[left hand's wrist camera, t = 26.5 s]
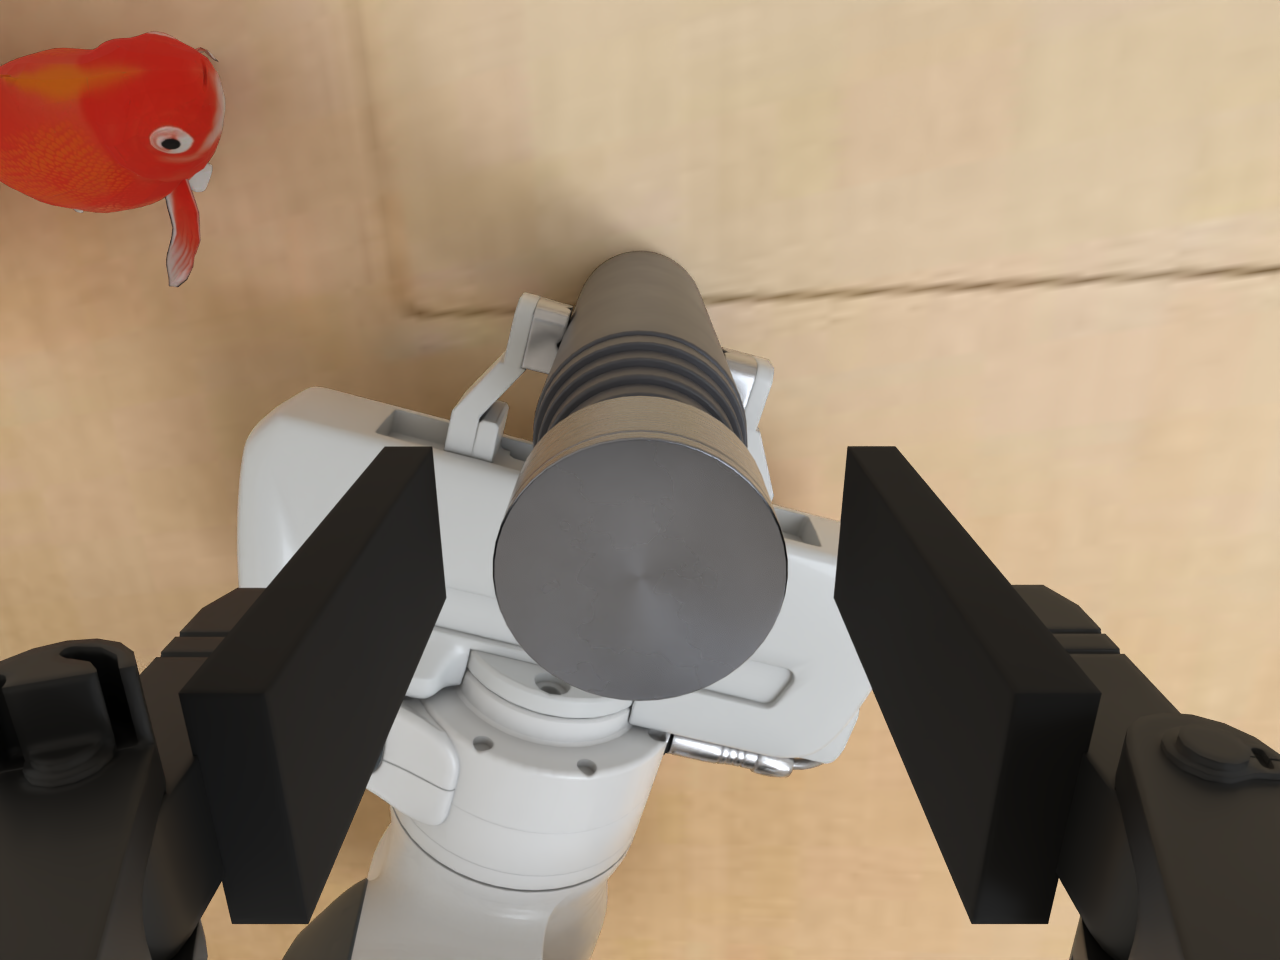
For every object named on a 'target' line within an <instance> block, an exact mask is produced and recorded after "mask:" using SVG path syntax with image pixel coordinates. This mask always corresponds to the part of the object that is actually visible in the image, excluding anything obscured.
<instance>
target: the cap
mask: <svg viewBox="0 0 1280 960" xmlns="http://www.w3.org/2000/svg"><path fill="white" fill-rule="evenodd" d="M787 581H788V557H787V550H786V544H785V540H784V537H783V533H782V530H781V527H780V524H779V521H778V519H777V516H776V513H775V510H774V507H773V505H772V502H771V499H770V496H769V494H768V491H767V488H766V485H765V483H764V480H763V477H762V474H761V472H760V470H759V468H758V466H757V464H756V462H755V460H754V458H753V457H752V455H751V453H750V452H749V450H748V449H747V447H746V446H745V445H744V444H743V443H742V441H741V440H740V439H739V438H738V437H737V436H736V435H735V434H734V433H733V432H732V431H731V430H730V429H729V428H728V427H726V426H725V425H724V424H723V423H722V422H720V421H719V420H717V419H716V418H714V417H713V416H711V415H710V414H708V413H706V412H704V411H702V410H700V409H698V408H696V407H694V406H691V405H688V404H685V403H682V402H679V401H676V400H671V399H666V398H661V397H651V396H630V397H620V398H615V399H609V400H605V401H602V402H599V403H595V404H592V405H589V406H587V407H585V408H583V409H581V410H579V411H577V412H574V413H573V414H571V415H570V416H568V417H566V418H565V419H563V420H562V421H560V422H559V423H558V424H556V425H555V426H554V427H553V428H552V429H551V430H549V431H548V432H547V433H546V434H545V435H544V436H543V437H542V439H541V440H540V441H539V442H538V443H537V444H536V445H535V447H534V448H533V450H532V451H531V453H530V454H529V456H528V457H527V459H526V461H525V463H524V465H523V467H522V469H521V471H520V473H519V476H518V479H517V481H516V484H515V487H514V490H513V493H512V495H511V498H510V501H509V504H508V506H507V509H506V512H505V515H504V518H503V520H502V523H501V526H500V529H499V532H498V535H497V538H496V542H495V548H494V554H493V583H494V590H495V595H496V599H497V602H498V606H499V609H500V612H501V614H502V616H503V618H504V621H505V623H506V625H507V627H508V628H509V630H510V632H511V633H512V635H513V636H514V638H515V640H516V641H517V642H518V644H519V645H520V646H521V647H522V648H523V650H524V651H525V652H526V653H527V654H528V655H529V656H530V657H531V658H532V659H533V660H534V661H535V662H536V663H537V664H538V665H539V666H541V667H542V668H543V669H545V670H546V671H547V672H549V673H550V674H552V675H553V676H554V677H556V678H558V679H560V680H562V681H563V682H565V683H567V684H569V685H571V686H573V687H575V688H578V689H580V690H583V691H585V692H588V693H592V694H595V695H599V696H602V697H607V698H613V699H618V700H629V701H651V700H662V699H668V698H674V697H678V696H682V695H686V694H689V693H693V692H695V691H698V690H700V689H703V688H705V687H708V686H710V685H712V684H714V683H715V682H717V681H719V680H721V679H723V678H725V677H726V676H728V675H729V674H730V673H732V672H733V671H735V670H736V669H737V668H739V667H740V666H741V665H742V664H743V663H744V662H745V661H747V660H748V659H749V658H750V657H751V656H752V655H753V654H754V653H755V651H756V650H757V649H758V648H759V647H760V645H761V644H762V643H763V642H764V640H765V639H766V637H767V636H768V634H769V633H770V631H771V629H772V628H773V626H774V624H775V622H776V620H777V617H778V615H779V613H780V611H781V608H782V604H783V601H784V598H785V594H786V587H787Z"/></svg>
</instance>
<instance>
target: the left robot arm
mask: <svg viewBox="0 0 1280 960" xmlns="http://www.w3.org/2000/svg"><path fill="white" fill-rule="evenodd" d="M445 600H446V587H445V576H444V566H443V555H442V544H441V533H440V523H439V512H438V501H437V490H436V480H435V469H434V458H433V448H432V446H385V447H384V448H383V449H382V450H381V451H380V453H379V454H378V455H377V456H376V457H375V459H374V460H373V461H372V462H371V463H370V465H369V466H368V467H367V468H366V469H365V470H364V472H363V473H362V474H361V475H360V476H359V478H358V479H357V480H356V481H355V482H354V484H353V485H352V486H351V487H350V488H349V490H348V491H347V492H346V493H345V494H344V496H343V497H342V498H341V499H340V500H339V502H338V503H337V504H336V505H335V506H334V508H333V509H332V510H331V511H330V512H329V513H328V515H327V516H326V517H325V518H324V519H323V521H322V522H321V523H320V524H319V525H318V527H317V528H316V529H315V530H314V531H313V533H312V534H311V535H310V536H309V537H308V539H307V540H306V541H305V542H304V543H303V545H302V546H301V547H300V548H299V549H298V551H297V552H296V553H295V554H294V555H293V557H292V558H291V559H290V560H289V561H288V562H287V564H286V565H285V566H284V567H283V568H282V570H281V571H280V572H279V573H278V574H277V576H276V577H275V578H274V579H273V580H272V582H271V583H270V584H269V585H268V586H267V588H236V589H235V590H233V591H231V592H229V593H228V594H226V595H224V596H223V597H221V598H219V599H217V600H216V601H214V602H212V603H210V604H209V605H207V606H205V607H204V608H202V609H201V610H200V611H199V612H198V613H197V614H196V615H195V617H194V618H193V619H192V620H191V621H190V622H189V623H188V624H187V625H186V626H185V627H184V628H183V629H182V630H181V631H180V637H175V638H174V639H173V640H172V641H171V642H170V643H169V644H168V645H167V646H166V647H165V649H164V650H163V651H162V652H161V657H156V658H155V659H154V660H153V661H152V662H151V663H150V665H149V666H148V667H147V668H146V669H145V670H144V671H143V672H142V673H141V674H140V675H139V671H138V667H137V664H136V660H135V656H134V652H133V651H132V650H130V649H129V648H127V647H126V646H125V645H123V644H122V643H120V642H115V641H109V640H102V639H85V640H70V641H64V642H59V643H55V644H51V645H46V646H42V647H38V648H34V649H31V650H28V651H26V652H23V653H21V654H18V655H15V656H13V657H10V658H8V659H5V660H3V661H0V960H207V957H208V955H207V947H206V940H205V935H204V931H203V927H202V923H201V917H202V915H203V913H204V912H205V910H206V908H207V906H208V904H209V903H210V901H211V899H212V897H213V896H214V894H215V892H216V890H217V889H218V887H219V885H220V883H221V881H222V883H223V887H224V892H225V896H226V900H227V905H228V909H229V913H230V917H231V922H232V924H309V921H310V919H311V916H312V914H313V912H314V909H315V907H316V905H317V902H318V900H319V898H320V895H321V893H322V891H323V888H324V886H325V883H326V881H327V879H328V876H329V874H330V872H331V869H332V867H333V865H334V862H335V860H336V857H337V855H338V853H339V850H340V848H341V846H342V843H343V841H344V839H345V836H346V834H347V832H348V829H349V827H350V824H351V822H352V820H353V817H354V815H355V813H356V810H357V808H358V806H359V803H360V801H361V798H362V796H363V794H364V791H365V789H366V787H367V784H368V782H369V780H370V777H371V775H372V773H373V770H374V768H375V765H376V763H377V761H378V758H379V756H380V754H381V751H382V749H383V747H384V744H385V742H386V739H387V737H388V735H389V732H390V730H391V728H392V725H393V723H394V721H395V718H396V716H397V714H398V711H399V709H400V706H401V704H402V702H403V699H404V697H405V695H406V692H407V690H408V688H409V685H410V683H411V680H412V678H413V676H414V673H415V671H416V669H417V666H418V664H419V662H420V659H421V657H422V655H423V652H424V650H425V647H426V645H427V643H428V640H429V638H430V636H431V633H432V631H433V629H434V626H435V624H436V621H437V619H438V617H439V614H440V612H441V610H442V607H443V605H444V603H445ZM834 600H835V603H836V605H837V607H838V610H839V612H840V614H841V617H842V619H843V621H844V624H845V626H846V629H847V631H848V633H849V636H850V638H851V640H852V643H853V645H854V647H855V650H856V652H857V655H858V657H859V659H860V662H861V664H862V666H863V669H864V671H865V673H866V676H867V678H868V680H869V683H870V685H871V688H872V690H873V692H874V695H875V697H876V699H877V702H878V704H879V706H880V709H881V711H882V714H883V716H884V718H885V721H886V723H887V725H888V728H889V730H890V732H891V735H892V737H893V739H894V742H895V744H896V747H897V749H898V751H899V754H900V756H901V758H902V761H903V763H904V765H905V768H906V770H907V773H908V775H909V777H910V780H911V782H912V784H913V787H914V789H915V791H916V794H917V796H918V798H919V801H920V803H921V806H922V808H923V810H924V813H925V815H926V817H927V820H928V822H929V824H930V827H931V829H932V832H933V834H934V836H935V839H936V841H937V843H938V846H939V848H940V850H941V853H942V855H943V857H944V860H945V862H946V865H947V867H948V869H949V872H950V874H951V876H952V879H953V881H954V883H955V886H956V888H957V891H958V893H959V895H960V898H961V900H962V902H963V905H964V907H965V909H966V912H967V914H968V916H969V919H970V921H971V924H1048V922H1049V917H1050V913H1051V909H1052V905H1053V900H1054V896H1055V892H1056V887H1057V883H1058V879H1060V880H1061V882H1062V884H1063V886H1064V887H1065V889H1066V891H1067V893H1068V894H1069V896H1070V898H1071V900H1072V902H1073V903H1074V905H1075V907H1076V909H1077V910H1078V912H1079V914H1080V919H1079V923H1078V927H1077V931H1076V935H1075V939H1074V943H1073V947H1072V951H1071V955H1070V959H1069V960H1280V754H1278V753H1277V752H1276V751H1274V750H1273V749H1271V748H1270V747H1268V746H1267V745H1265V744H1264V743H1263V742H1261V741H1260V740H1258V739H1257V738H1255V737H1253V736H1251V735H1249V734H1247V733H1244V732H1242V731H1240V730H1238V729H1236V728H1233V727H1231V726H1229V725H1227V724H1225V723H1221V722H1217V721H1214V720H1210V719H1206V718H1203V717H1199V716H1195V715H1190V714H1181V713H1180V712H1179V711H1178V710H1177V709H1176V708H1175V707H1174V706H1173V705H1172V704H1171V703H1170V702H1169V701H1168V700H1167V699H1166V697H1165V696H1164V695H1163V694H1162V693H1161V692H1160V691H1159V690H1158V689H1157V688H1156V687H1155V686H1154V685H1153V684H1152V683H1151V682H1150V681H1149V679H1148V678H1147V677H1146V676H1145V675H1144V674H1143V673H1142V672H1141V671H1140V670H1139V669H1138V668H1137V667H1136V666H1135V665H1134V664H1133V663H1132V661H1131V660H1130V659H1129V658H1128V657H1127V656H1126V655H1125V654H1120V649H1119V648H1118V647H1117V646H1116V645H1115V643H1114V642H1113V641H1112V640H1111V639H1110V638H1109V637H1108V636H1107V635H1106V634H1101V629H1100V628H1099V627H1098V625H1097V624H1096V623H1095V622H1094V621H1093V620H1092V619H1091V618H1090V617H1089V616H1088V615H1087V614H1086V613H1085V612H1084V611H1083V610H1082V609H1081V608H1080V606H1079V605H1077V604H1075V603H1074V602H1072V601H1070V600H1068V599H1067V598H1065V597H1063V596H1061V595H1060V594H1058V593H1056V592H1054V591H1053V590H1051V589H1049V588H1047V587H1046V586H1044V585H1011V584H1010V583H1009V582H1008V580H1007V579H1006V578H1005V577H1004V576H1003V574H1002V573H1001V572H1000V571H999V570H998V568H997V567H996V566H995V565H994V564H993V563H992V561H991V560H990V559H989V558H988V557H987V555H986V554H985V553H984V552H983V551H982V549H981V548H980V547H979V546H978V545H977V543H976V542H975V541H974V540H973V539H972V537H971V536H970V535H969V534H968V533H967V531H966V530H965V529H964V528H963V527H962V525H961V524H960V523H959V522H958V521H957V519H956V518H955V517H954V516H953V515H952V514H951V512H950V511H949V510H948V509H947V508H946V506H945V505H944V504H943V503H942V502H941V500H940V499H939V498H938V497H937V496H936V494H935V493H934V492H933V491H932V490H931V488H930V487H929V486H928V485H927V484H926V482H925V481H924V480H923V479H922V478H921V476H920V475H919V474H918V473H917V472H916V470H915V469H914V468H913V467H912V466H911V465H910V463H909V462H908V461H907V460H906V459H905V457H904V456H903V455H902V454H901V453H900V451H899V450H898V449H897V448H896V447H895V446H848V448H847V458H846V469H845V480H844V490H843V501H842V512H841V523H840V533H839V544H838V555H837V566H836V576H835V587H834Z"/></svg>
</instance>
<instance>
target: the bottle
mask: <svg viewBox="0 0 1280 960" xmlns="http://www.w3.org/2000/svg"><path fill="white" fill-rule="evenodd" d="M630 396H651V397H661V398H666V399H671V400H676V401H679V402H682V403H685V404H688V405H691V406H694V407H696V408H698V409H700V410H702V411H704V412H706V413H708V414H710V415H711V416H713V417H714V418H716V419H717V420H719V421H720V422H722V423H723V424H724V425H725V426H726V427H728V428H729V429H730V430H731V431H732V432H733V433H734V434H735V435H736V436H737V437H738V438H739V439H740V440H741V441H742V443H743V444H744V445H745V446H746V447H748V442H747V421H746V415H745V410H744V406H743V403H742V400H741V397H740V394H739V391H738V389H737V386H736V384H735V381H734V379H733V376H732V374H731V371H730V369H729V366H728V363H727V361H726V358H725V356H724V353H723V351H722V348H721V346H720V343H719V341H718V338H717V335H716V333H715V330H714V328H713V325H712V323H711V320H710V318H709V315H708V313H707V310H706V308H705V305H704V302H703V300H702V297H701V295H700V292H699V290H698V288H697V286H696V284H695V282H694V281H693V279H692V278H691V276H690V275H689V274H688V273H687V271H686V270H685V269H684V268H682V267H681V266H680V265H679V264H678V263H676V262H675V261H673V260H672V259H670V258H668V257H665V256H663V255H660V254H657V253H653V252H646V251H635V252H628V253H623V254H620V255H617V256H615V257H613V258H611V259H609V260H607V261H606V262H604V263H603V264H601V265H600V266H599V267H598V268H597V269H596V270H595V271H594V272H593V273H592V274H591V275H590V277H589V278H588V279H587V281H586V283H585V284H584V286H583V289H582V291H581V293H580V296H579V298H578V301H577V303H576V306H575V308H574V311H573V314H572V316H571V319H570V322H569V324H568V327H567V330H566V332H565V334H564V337H563V339H562V342H561V344H560V347H559V349H558V352H557V354H556V357H555V359H554V362H553V365H552V367H551V370H550V372H549V375H548V377H547V380H546V382H545V385H544V387H543V390H542V393H541V395H540V398H539V401H538V404H537V408H536V411H535V418H534V433H533V448H534V447H535V445H536V444H537V443H538V442H539V441H540V440H541V439H542V437H543V436H544V435H545V434H546V433H547V432H548V431H549V430H551V429H552V428H553V427H554V426H555V425H556V424H558V423H559V422H560V421H562V420H563V419H565V418H566V417H568V416H570V415H571V414H573V413H574V412H577V411H579V410H581V409H583V408H585V407H587V406H589V405H592V404H595V403H599V402H602V401H605V400H609V399H615V398H620V397H630Z"/></svg>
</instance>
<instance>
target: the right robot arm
mask: <svg viewBox="0 0 1280 960" xmlns="http://www.w3.org/2000/svg"><path fill="white" fill-rule="evenodd" d="M572 310H573V306H571V305H568V304H564V303H561V302H558V301H554V300H551V299H548V298H544V297H541V296H538V295H534V294H530V293H526V292H524V293H523V294H522V296H521V297H520V298H519V302H518V305H517V308H516V311H515V314H514V318H513V323H512V327H511V332H510V336H509V340H508V345H507V349H506V350H505V351H504V352H503V353H502V354H501V356H500V357H499V358H498V359H497V360H496V361H495V362H494V363H493V364H492V365H491V366H490V367H489V368H488V369H487V370H486V371H485V372H484V373H483V374H482V375H481V376H480V377H479V378H478V379H477V380H476V381H475V382H474V383H473V384H472V385H471V386H470V387H469V388H468V390H467V391H466V392H465V393H464V395H463V396H462V397H461V399H460V400H459V402H458V403H457V405H456V406H455V407H454V409H453V410H452V414H451V418H450V420H448V419H444V418H440V417H436V416H432V415H429V414H425V413H421V412H417V411H413V410H409V409H405V408H402V407H398V406H394V405H390V404H386V403H382V402H379V401H375V400H371V399H367V398H363V397H359V396H356V395H352V394H348V393H344V392H340V391H337V390H333V389H329V388H324V387H310V388H307V389H305V390H303V391H301V392H300V393H298V394H296V395H295V396H293V397H291V398H290V399H288V400H286V401H285V402H283V403H281V404H280V405H278V406H277V407H276V408H274V409H273V410H272V411H271V412H269V413H268V414H267V415H266V416H265V417H264V418H262V419H261V420H260V421H259V422H258V423H257V425H256V426H255V427H254V428H253V429H252V431H251V433H250V434H249V436H248V438H247V440H246V443H245V446H244V450H243V456H242V463H241V470H240V481H239V494H238V512H237V563H238V583H239V588H267V586H268V585H269V584H270V583H271V582H272V580H273V579H274V578H275V577H276V576H277V574H278V573H279V572H280V571H281V570H282V568H283V567H284V566H285V565H286V564H287V562H288V561H289V560H290V559H291V558H292V557H293V555H294V554H295V553H296V552H297V551H298V549H299V548H300V547H301V546H302V545H303V543H304V542H305V541H306V540H307V539H308V537H309V536H310V535H311V534H312V533H313V531H314V530H315V529H316V528H317V527H318V525H319V524H320V523H321V522H322V521H323V519H324V518H325V517H326V516H327V515H328V513H329V512H330V511H331V510H332V509H333V508H334V506H335V505H336V504H337V503H338V502H339V500H340V499H341V498H342V497H343V496H344V494H345V493H346V492H347V491H348V490H349V488H350V487H351V486H352V485H353V484H354V482H355V481H356V480H357V479H358V478H359V476H360V475H361V474H362V473H363V472H364V470H365V469H366V468H367V467H368V466H369V465H370V463H371V462H372V461H373V460H374V459H375V457H376V456H377V455H378V454H379V453H380V451H381V450H382V449H383V448H384V447H385V446H432V448H433V458H434V469H435V480H436V490H437V501H438V512H439V523H440V533H441V544H442V555H443V566H444V576H445V587H446V600H445V603H444V605H443V607H442V610H441V612H440V614H439V617H438V619H437V621H436V624H435V626H434V629H433V631H432V633H431V636H430V638H429V640H428V643H427V645H426V647H425V650H424V652H423V655H422V657H421V659H420V662H419V664H418V666H417V669H416V671H415V673H414V676H413V678H412V680H411V683H410V685H409V688H408V690H407V692H406V695H405V697H404V699H403V702H402V704H401V706H400V709H399V711H398V714H397V716H396V718H395V721H394V723H393V725H392V728H391V730H390V732H389V735H388V737H387V739H386V742H385V744H384V747H383V749H382V751H381V754H380V756H379V758H378V761H377V763H376V765H375V768H374V770H373V773H372V775H371V777H370V780H369V782H368V784H367V787H366V789H367V790H369V791H371V792H372V793H374V794H375V795H377V796H378V797H380V798H381V799H383V800H384V801H385V802H387V803H388V804H390V811H391V823H390V824H389V826H388V827H387V829H386V830H385V832H384V834H383V835H382V837H381V839H380V841H379V843H378V845H377V847H376V850H375V852H374V854H373V858H372V861H371V865H370V868H369V873H368V877H367V878H365V879H363V880H362V881H360V882H358V883H357V884H355V885H354V886H352V887H350V888H349V889H348V890H347V891H345V892H344V893H343V894H341V895H340V896H339V897H338V898H337V899H336V900H334V901H333V902H332V903H331V904H330V905H329V906H328V907H327V908H326V909H325V910H324V911H323V912H322V913H321V914H319V915H318V916H317V917H316V918H315V919H314V920H313V921H312V922H311V923H310V924H309V925H308V926H307V927H306V928H304V929H303V930H302V931H301V932H300V933H299V934H298V936H297V937H296V938H295V940H294V941H293V943H292V944H291V946H290V948H289V949H288V951H287V952H286V954H285V956H284V957H283V959H282V960H590V958H591V956H592V953H593V951H594V948H595V946H596V943H597V940H598V937H599V935H600V932H601V929H602V926H603V922H604V918H605V914H606V909H607V900H608V882H607V879H608V878H609V877H610V876H611V875H612V874H613V873H614V871H615V870H616V869H617V867H618V866H619V865H620V863H621V862H622V861H623V859H624V857H625V856H626V854H627V852H628V850H629V848H630V846H631V844H632V841H633V839H634V836H635V833H636V830H637V827H638V824H639V822H640V819H641V816H642V813H643V810H644V808H645V805H646V802H647V799H648V796H649V793H650V791H651V788H652V785H653V782H654V780H655V777H656V774H657V771H658V768H659V765H660V762H661V760H662V757H663V755H664V754H665V753H668V754H672V755H676V756H681V757H685V758H690V759H694V760H699V761H703V762H709V763H717V764H727V765H733V766H740V767H743V768H747V769H750V770H751V771H752V772H754V773H757V774H760V775H764V776H770V777H788V776H789V775H790V774H791V773H792V770H804V769H810V768H814V767H817V766H820V765H822V764H824V763H825V764H826V763H831V762H833V761H834V760H835V759H837V758H838V756H839V755H840V754H841V753H842V751H843V750H844V748H845V746H846V743H847V741H848V739H849V737H850V735H851V732H852V730H853V728H854V726H855V723H856V721H857V718H858V715H859V710H860V707H861V705H862V704H863V702H864V701H865V699H866V698H867V696H868V695H869V693H870V692H871V690H872V688H871V685H870V683H869V680H868V678H867V676H866V673H865V671H864V669H863V666H862V664H861V662H860V659H859V657H858V655H857V652H856V650H855V647H854V645H853V643H852V640H851V638H850V636H849V633H848V631H847V629H846V626H845V624H844V621H843V619H842V617H841V614H840V612H839V610H838V607H837V605H836V603H835V600H834V587H835V576H836V566H837V555H838V544H839V533H840V523H841V522H840V521H836V520H832V519H828V518H824V517H820V516H817V515H813V514H809V513H805V512H801V511H797V510H794V509H790V508H786V507H782V506H778V505H774V504H772V505H773V507H774V510H775V513H776V516H777V519H778V521H779V524H780V527H781V530H782V533H783V537H784V540H785V544H786V550H787V557H788V581H787V587H786V594H785V598H784V601H783V604H782V608H781V611H780V613H779V615H778V617H777V620H776V622H775V624H774V626H773V628H772V629H771V631H770V633H769V634H768V636H767V637H766V639H765V640H764V642H763V643H762V644H761V645H760V647H759V648H758V649H757V650H756V651H755V653H754V654H753V655H752V656H751V657H750V658H749V659H748V660H747V661H745V662H744V663H743V664H742V665H741V666H740V667H739V668H737V669H736V670H735V671H733V672H732V673H730V674H729V675H728V676H726V677H725V678H723V679H721V680H719V681H717V682H715V683H714V684H712V685H710V686H708V687H705V688H703V689H700V690H698V691H695V692H693V693H689V694H686V695H682V696H678V697H674V698H668V699H662V700H651V701H629V700H618V699H613V698H607V697H602V696H599V695H595V694H592V693H588V692H585V691H583V690H580V689H578V688H575V687H573V686H571V685H569V684H567V683H565V682H563V681H562V680H560V679H558V678H556V677H554V676H553V675H552V674H550V673H549V672H547V671H546V670H545V669H543V668H542V667H541V666H539V665H538V664H537V663H536V662H535V661H534V660H533V659H532V658H531V657H530V656H529V655H528V654H527V653H526V652H525V651H524V650H523V648H522V647H521V646H520V645H519V644H518V642H517V641H516V640H515V638H514V636H513V635H512V633H511V632H510V630H509V628H508V627H507V625H506V623H505V621H504V618H503V616H502V614H501V612H500V609H499V606H498V602H497V599H496V595H495V590H494V583H493V554H494V548H495V542H496V538H497V535H498V532H499V529H500V526H501V523H502V520H503V518H504V515H505V512H506V509H507V506H508V504H509V501H510V498H511V495H512V493H513V490H514V487H515V484H516V481H517V479H518V476H519V473H520V471H521V469H522V467H523V465H524V463H525V461H526V459H527V457H528V456H529V454H530V453H531V451H532V450H533V442H532V441H528V440H525V439H521V438H517V437H513V436H509V435H505V434H503V433H504V428H505V423H506V419H507V414H508V409H509V406H508V404H507V403H506V402H502V401H498V400H497V399H498V398H499V397H500V396H501V395H502V394H503V393H504V392H505V391H506V390H507V389H508V388H509V387H510V386H511V385H512V384H513V383H514V382H515V381H516V380H517V379H518V377H519V376H520V375H521V374H522V373H523V372H524V371H525V370H526V369H529V370H533V371H537V372H541V373H545V374H549V372H550V370H551V367H552V365H553V362H554V359H555V357H556V354H557V352H558V349H559V347H560V344H561V342H562V339H563V337H564V334H565V332H566V330H567V327H568V324H569V322H570V318H571V314H572ZM722 351H723V353H724V356H725V358H726V361H727V363H728V366H729V369H730V371H731V374H732V376H733V379H734V381H735V384H736V386H737V389H738V391H739V394H740V397H741V400H742V403H743V406H744V410H745V415H746V421H747V442H748V447H747V449H748V450H749V452H750V453H751V455H752V457H753V458H754V460H755V462H756V464H757V466H758V468H759V470H760V472H761V474H762V477H763V480H764V483H765V485H766V488H767V491H768V494H769V496H770V499H771V501H772V499H773V496H774V495H773V490H772V485H771V481H770V476H769V471H768V467H767V462H766V457H765V453H764V448H763V443H762V439H761V434H760V431H759V428H758V423H759V420H760V417H761V414H762V412H763V409H764V406H765V403H766V400H767V397H768V394H769V391H770V388H771V385H772V382H773V375H774V367H773V366H772V364H771V362H770V361H769V360H768V359H764V358H761V357H757V356H753V355H750V354H746V353H742V352H739V351H735V350H731V349H727V348H723V347H722ZM798 757H799V758H798Z"/></svg>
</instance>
